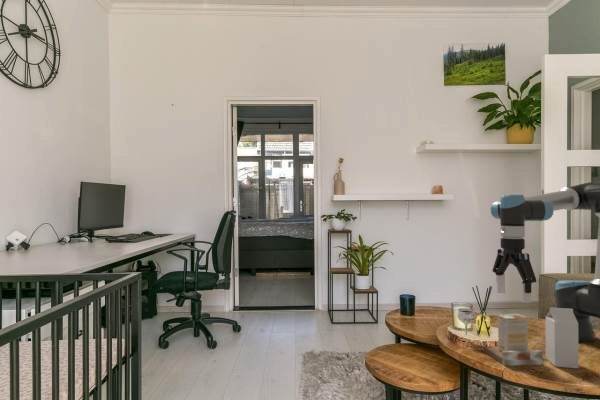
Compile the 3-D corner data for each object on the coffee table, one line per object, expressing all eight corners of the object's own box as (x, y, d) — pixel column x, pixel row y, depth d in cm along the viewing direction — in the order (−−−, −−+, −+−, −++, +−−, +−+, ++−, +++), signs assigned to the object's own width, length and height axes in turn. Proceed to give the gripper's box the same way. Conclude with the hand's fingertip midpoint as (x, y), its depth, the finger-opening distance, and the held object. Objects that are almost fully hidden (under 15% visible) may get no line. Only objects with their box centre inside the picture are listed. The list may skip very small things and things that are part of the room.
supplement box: (518, 349, 136) (518, 313, 136) (528, 354, 131) (528, 317, 132) (497, 350, 135) (497, 313, 135) (506, 355, 130) (506, 317, 131)
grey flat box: (518, 350, 140) (518, 338, 140) (543, 364, 128) (543, 351, 128) (483, 351, 139) (483, 339, 139) (504, 366, 126) (504, 352, 127)
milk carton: (578, 368, 125) (578, 311, 125) (554, 367, 126) (554, 310, 126) (567, 360, 132) (567, 306, 132) (545, 358, 133) (545, 305, 133)
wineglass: (453, 339, 151) (453, 309, 152) (462, 336, 156) (462, 307, 156) (470, 344, 146) (470, 313, 146) (478, 340, 150) (478, 310, 150)
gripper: (482, 235, 146) (482, 289, 146) (526, 241, 121) (527, 306, 121) (500, 234, 147) (501, 289, 146) (548, 240, 122) (549, 306, 121)
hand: (513, 297), depth 133 cm, fingers open, 13 cm apart
